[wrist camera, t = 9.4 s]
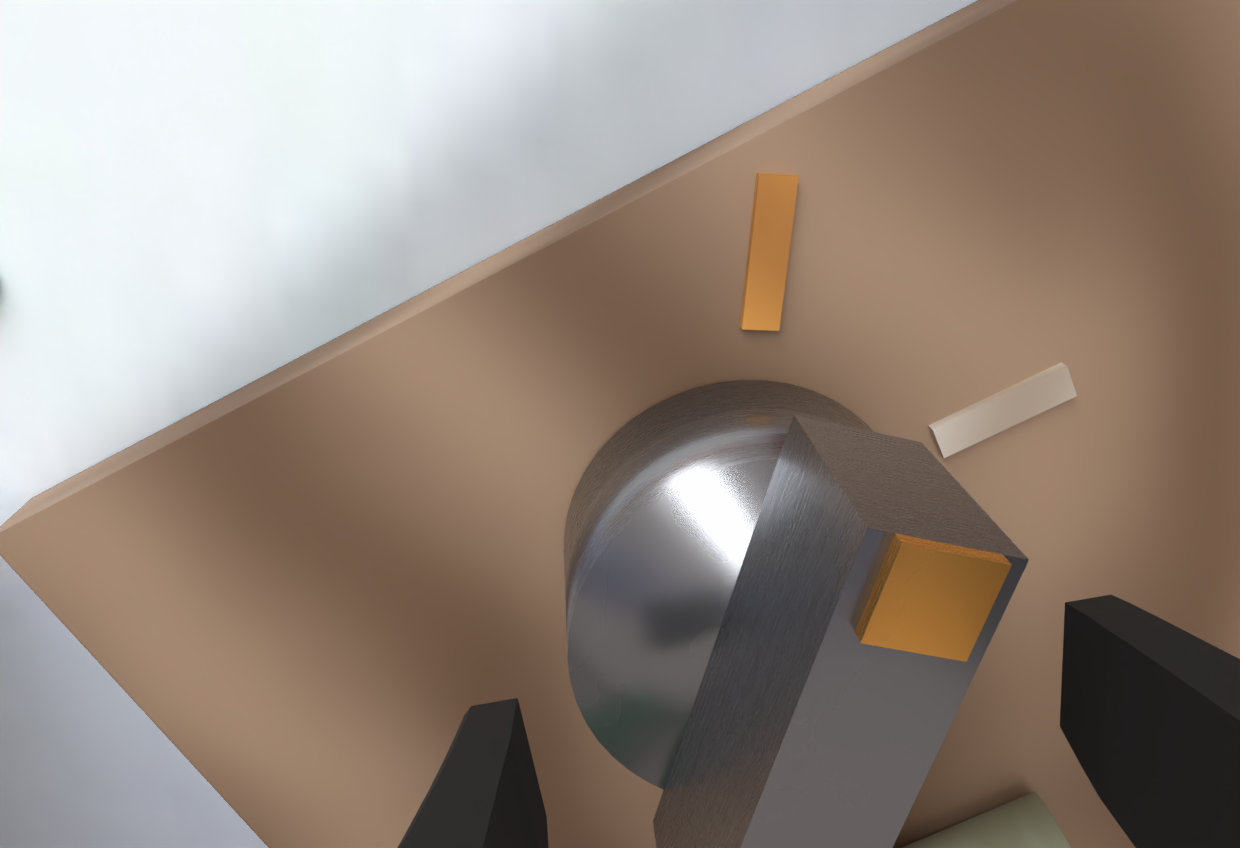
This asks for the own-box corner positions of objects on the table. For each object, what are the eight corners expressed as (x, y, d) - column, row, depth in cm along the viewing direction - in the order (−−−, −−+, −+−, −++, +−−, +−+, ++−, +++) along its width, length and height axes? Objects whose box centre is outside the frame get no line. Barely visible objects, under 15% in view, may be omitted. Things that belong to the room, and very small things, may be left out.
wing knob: (831, 727, 18) (964, 1050, 12) (524, 677, 17) (513, 1003, 11) (970, 394, 16) (1219, 606, 10) (619, 314, 15) (667, 497, 9)
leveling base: (519, 1056, 24) (515, 1217, 20) (32, 498, 17) (-89, 608, 14) (1376, 701, 21) (1525, 821, 18) (1206, -120, 14) (1395, -162, 11)
